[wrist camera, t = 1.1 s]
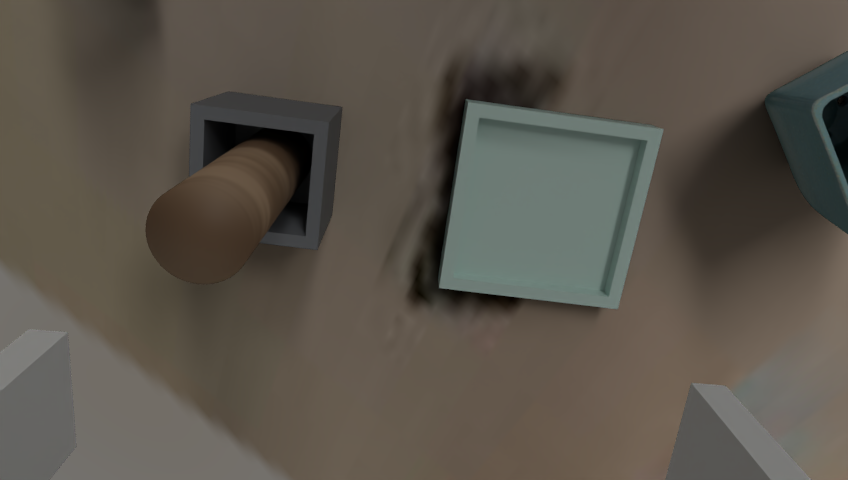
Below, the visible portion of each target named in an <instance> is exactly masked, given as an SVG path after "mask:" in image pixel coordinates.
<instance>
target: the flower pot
mask: <svg viewBox="0 0 848 480" xmlns="http://www.w3.org/2000/svg"><path fill="white" fill-rule="evenodd" d="M840 96H844V98H845V101H844V103H843V104H841V105H839V104H838V102H837V101H838V98H839V97H840ZM765 106H766V109H767V111H768V114H769V116H770V118H771V121H772V123H773V126H774V128H775V131H776V133H777V136H778V138H779V141H780V143H781V146H782V148H783V151H784V153H785V156H786V158H787V161H788V163H789V166H790V169H791V171H792V174H793V177H794V179H795V181H796V183H797V185H798V187H799V189H800V191H801V193H802V194H803V196H804V197H805V199H806V200H807V201H808V203H809V204H810V205H811V206H812V207H813V208H814V209H815V210H816V211H817V212H819V213H820V214H821V215H822V216H824V217H825V218H826V219H828V220H829V221H830V222H832V223H833V224H835V225H836V226H837V227H839V228H840V229H841V230H843V231H844V232H846V233H847V234H848V51H846V52H845V53H843V54H841V55H839V56H837V57H835V58H834V59H832V60H830V61H828V62H826V63H825V64H823V65H821V66H819V67H817V68H815V69H814V70H812V71H810V72H808V73H806V74H804V75H802V76H801V77H799V78H797V79H795V80H793V81H791V82H790V83H788V84H786V85H784V86H782V87H780V88H778V89H776V90H774V91H773V92H771V93H770V94H768V95H767V97H766V98H765Z"/></svg>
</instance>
